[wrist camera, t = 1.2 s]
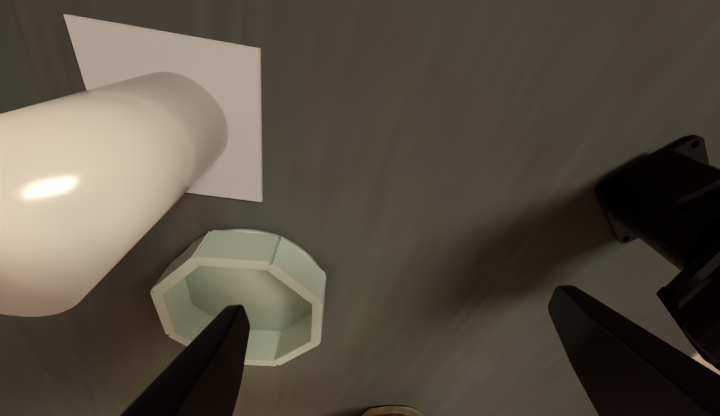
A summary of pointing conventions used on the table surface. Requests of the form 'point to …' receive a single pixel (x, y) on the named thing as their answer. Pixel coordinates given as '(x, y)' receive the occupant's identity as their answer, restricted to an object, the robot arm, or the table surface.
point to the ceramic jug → (393, 411)
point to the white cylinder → (95, 182)
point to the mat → (199, 63)
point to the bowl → (245, 292)
